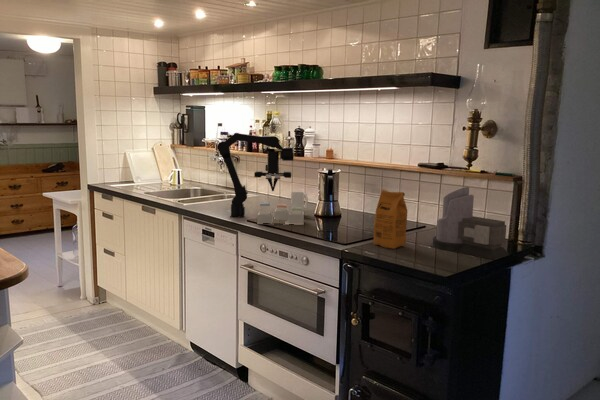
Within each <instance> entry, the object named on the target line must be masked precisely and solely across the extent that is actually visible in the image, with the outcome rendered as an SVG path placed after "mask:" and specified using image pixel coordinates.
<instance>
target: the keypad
mask: <svg viewBox="0 0 600 400" xmlns="http://www.w3.org/2000/svg"><path fill="white" fill-rule="evenodd" d="M273 217H274V219H276V220H287V221H285V224H284V225H289V224H294V225H293V226H296V225H298V226H299V225H301V226H304V223H305V221H304V220H305V211H304V212H301V214H292V212H291V211H290V209H288V208H287V211H277V208H275V209H274V212H271V211H270V215H266V214H260V211H258V212H257V217H256V218H257V220H256V221H257V225H264V224H263V223H271V224H270V225H273V224H272V222H273Z"/></svg>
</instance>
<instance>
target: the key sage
mask: <svg viewBox="0 0 600 400" xmlns="http://www.w3.org/2000/svg"><path fill="white" fill-rule="evenodd" d="M292 214H301V207H292Z"/></svg>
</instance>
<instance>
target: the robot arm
mask: <svg viewBox="0 0 600 400" xmlns="http://www.w3.org/2000/svg"><path fill="white" fill-rule="evenodd" d="M236 142H246V143H255V144H261V145H264V146H266V148H265V149H264V150H263V152H264V153H267V164H265V167H264V168H265V172H264V171H262V170H255V172H254V175H253V176H254V178H262V177H265V180H267V181H268V184H269V186H270V190H271V192H275V188H276V185H277V182H278V181H279V180H281V177H283V178H285V179H287V178H288V179H292V172H291V171H289V170H288V171H283V172H280V161H279V160H280V159H281V161H282V162H293V161H294V158H295V156H294V155H295V154H294V148H293V147H283V146H282V145H281V144H280V139H279V138H278V136H275V135H265V136H261V135H253V134H246V133H240V132H234V133H233V134H232V135H231V136H230V137H229V138H228V139H226V140H222V141H220V142H219V143H218V144H217V151H218V152H219V154H220V156H221V158H222V159H223V160H224V163H225V166H226V169H227V171H228V174H229V178H230V181H231V182H232V185H233V190H234V197H232V198H231V203H230V215H229V216H230V218H243V217H244V216H246V206H245V204H244V202H246V200H247V198H248V194H249V193H248V191H247V188H246V185H242V183H241V181H240V177H239V176H238V175H239V174H238V172H237V169H236V167H235V165H234V161H233V160H232V154H231V149H230V148H231V147H232V145H234V144H235V143H236ZM269 147H270V148H269ZM275 149H277V150H275ZM273 177H274V178H273Z"/></svg>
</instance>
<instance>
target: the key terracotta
mask: <svg viewBox="0 0 600 400" xmlns="http://www.w3.org/2000/svg"><path fill="white" fill-rule="evenodd" d="M287 206H288V204H285V203H277V205H276V209H277V211H287V209H288V208H287Z"/></svg>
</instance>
